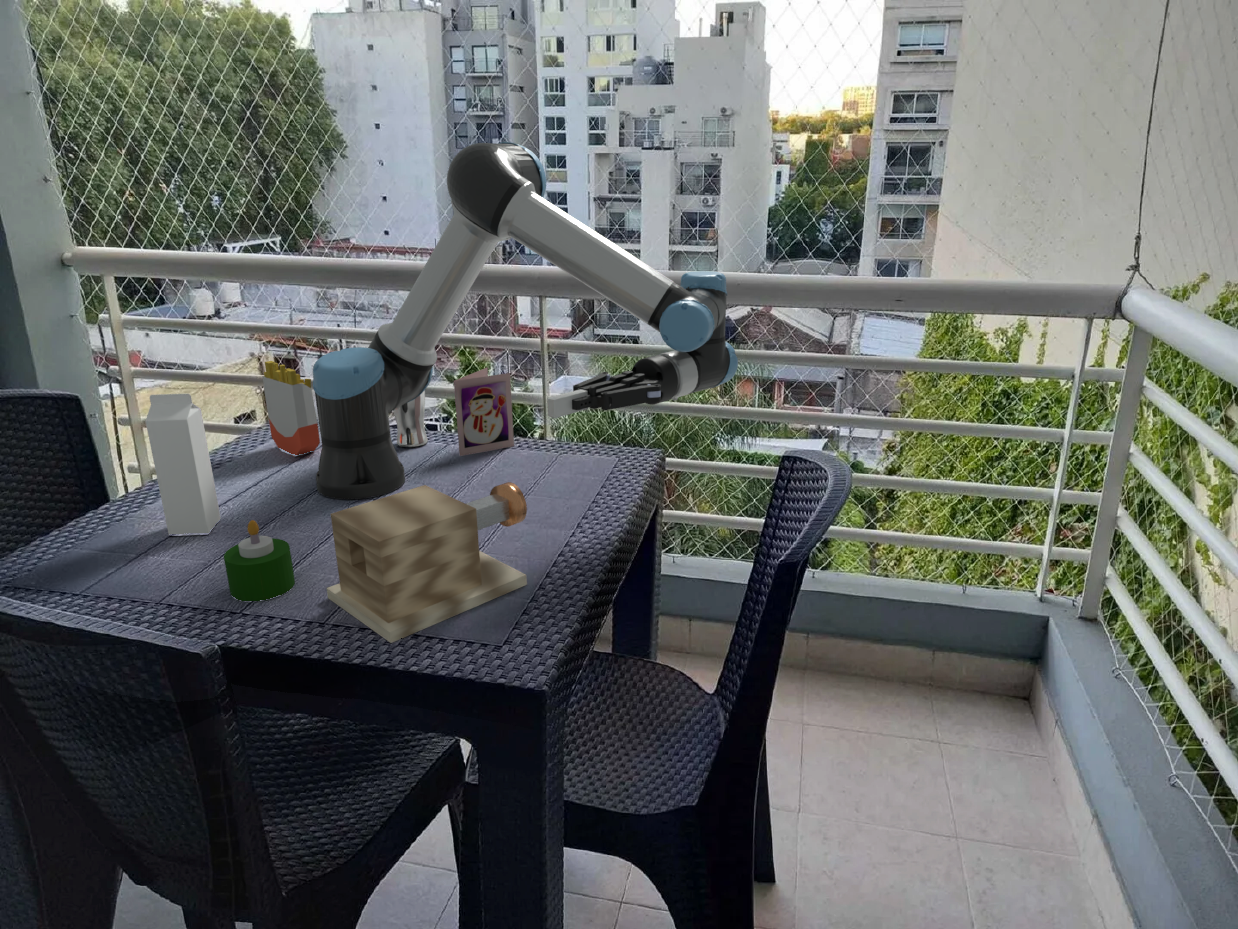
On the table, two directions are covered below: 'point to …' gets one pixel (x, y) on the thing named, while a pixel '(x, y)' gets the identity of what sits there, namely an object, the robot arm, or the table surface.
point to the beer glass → (411, 423)
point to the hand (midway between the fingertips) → (551, 408)
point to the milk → (182, 464)
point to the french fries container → (290, 409)
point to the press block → (413, 562)
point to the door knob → (501, 506)
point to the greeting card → (483, 412)
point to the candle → (259, 567)
